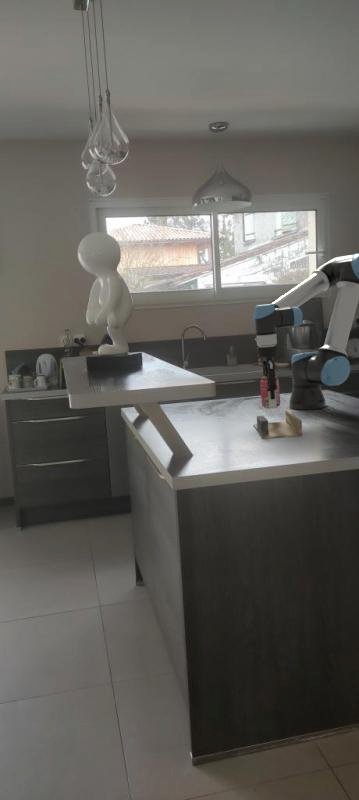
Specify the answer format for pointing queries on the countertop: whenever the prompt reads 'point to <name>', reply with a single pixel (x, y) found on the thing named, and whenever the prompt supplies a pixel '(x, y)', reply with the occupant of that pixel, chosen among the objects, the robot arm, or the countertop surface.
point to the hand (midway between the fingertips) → (271, 405)
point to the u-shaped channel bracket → (279, 427)
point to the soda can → (265, 393)
